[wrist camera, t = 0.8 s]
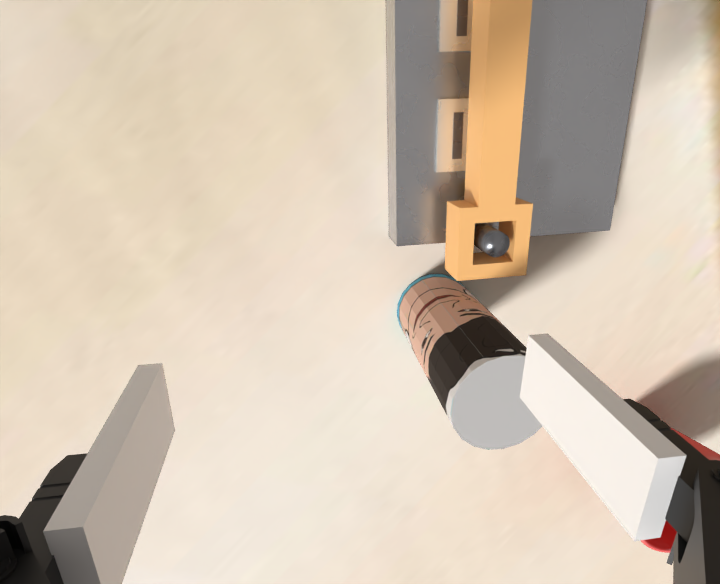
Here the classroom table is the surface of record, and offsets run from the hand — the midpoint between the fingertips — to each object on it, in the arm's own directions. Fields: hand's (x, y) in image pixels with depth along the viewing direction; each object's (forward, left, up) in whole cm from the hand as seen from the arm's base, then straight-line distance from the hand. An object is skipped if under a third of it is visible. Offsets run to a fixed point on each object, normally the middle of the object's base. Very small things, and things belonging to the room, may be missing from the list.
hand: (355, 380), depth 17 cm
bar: (-9, +12, -18) cm, 24 cm away
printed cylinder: (+8, +10, -23) cm, 27 cm away
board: (-9, +15, -23) cm, 29 cm away
